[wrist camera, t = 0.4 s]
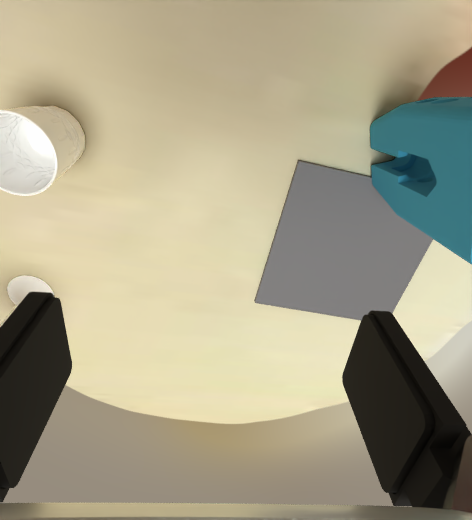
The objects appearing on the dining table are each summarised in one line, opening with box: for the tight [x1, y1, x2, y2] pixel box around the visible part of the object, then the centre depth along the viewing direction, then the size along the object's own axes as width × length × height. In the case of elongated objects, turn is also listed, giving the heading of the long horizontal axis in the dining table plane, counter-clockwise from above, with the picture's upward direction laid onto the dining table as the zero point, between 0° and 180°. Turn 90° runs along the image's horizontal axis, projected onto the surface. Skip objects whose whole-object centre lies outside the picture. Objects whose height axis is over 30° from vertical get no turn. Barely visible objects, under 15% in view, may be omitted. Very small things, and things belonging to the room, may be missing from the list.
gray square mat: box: [255, 160, 433, 320], centre depth 51 cm, size 22×22×1 cm
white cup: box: [0, 106, 85, 196], centre depth 37 cm, size 8×8×10 cm
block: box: [370, 97, 472, 264], centre depth 35 cm, size 12×5×20 cm, turn 11°
